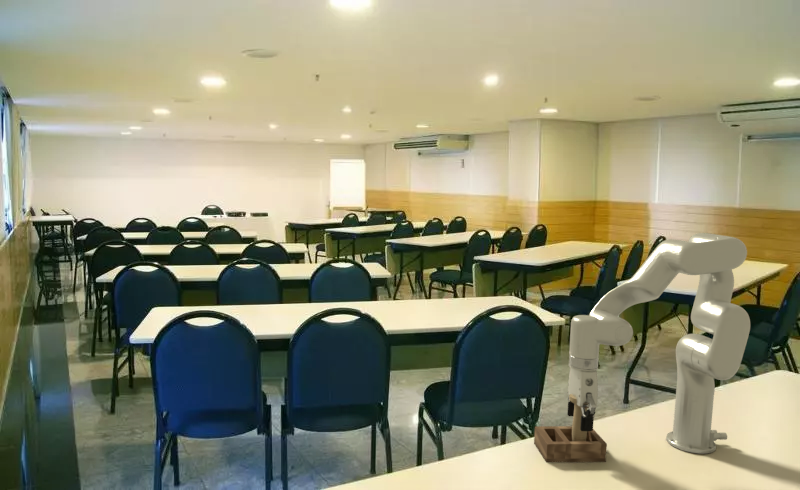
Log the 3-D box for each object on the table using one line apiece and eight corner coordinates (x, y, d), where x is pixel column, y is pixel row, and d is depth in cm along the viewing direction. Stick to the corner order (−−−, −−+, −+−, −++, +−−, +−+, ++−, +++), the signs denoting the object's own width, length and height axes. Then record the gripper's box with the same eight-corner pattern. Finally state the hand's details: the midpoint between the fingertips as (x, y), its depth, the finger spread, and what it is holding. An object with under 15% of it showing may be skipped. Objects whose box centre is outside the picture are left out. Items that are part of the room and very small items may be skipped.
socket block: (589, 443, 167) (590, 426, 166) (605, 461, 156) (606, 443, 155) (534, 443, 166) (534, 426, 165) (546, 462, 155) (547, 444, 154)
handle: (594, 451, 160) (597, 397, 158) (573, 454, 158) (576, 400, 156) (583, 443, 164) (585, 391, 162) (563, 446, 162) (565, 393, 160)
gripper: (610, 372, 150) (606, 437, 152) (584, 352, 167) (581, 410, 169) (581, 372, 149) (577, 437, 151) (558, 352, 166) (555, 410, 168)
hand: (579, 423), depth 160 cm, fingers open, 9 cm apart
